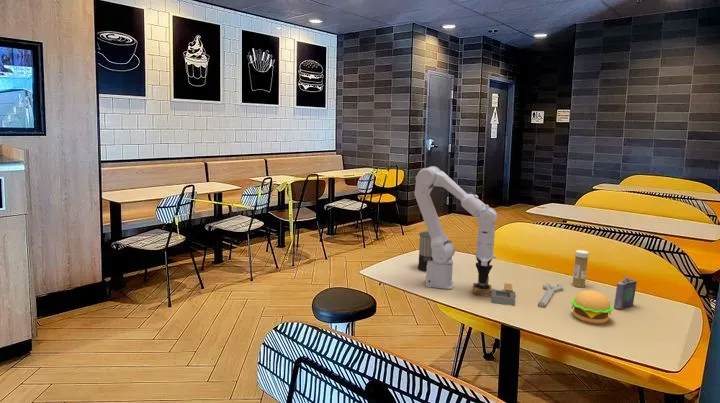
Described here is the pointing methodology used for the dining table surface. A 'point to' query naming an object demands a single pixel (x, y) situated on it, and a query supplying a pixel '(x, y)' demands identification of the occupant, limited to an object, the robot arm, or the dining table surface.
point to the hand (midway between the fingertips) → (482, 279)
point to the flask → (625, 293)
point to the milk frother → (425, 250)
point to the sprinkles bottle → (580, 268)
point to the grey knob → (483, 286)
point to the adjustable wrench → (549, 294)
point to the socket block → (503, 297)
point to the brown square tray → (481, 290)
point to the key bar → (508, 287)
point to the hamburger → (591, 307)
